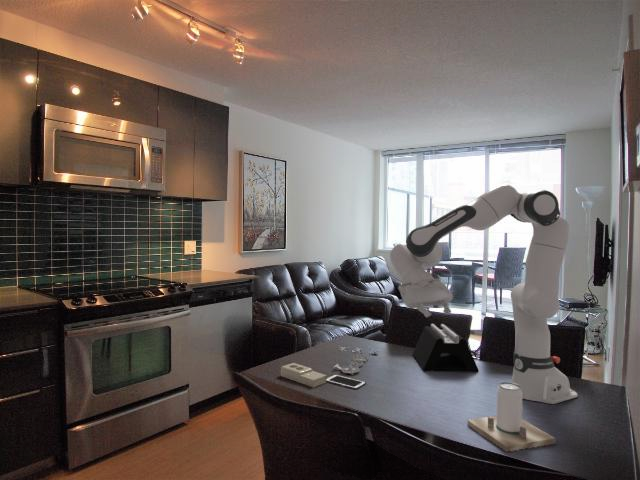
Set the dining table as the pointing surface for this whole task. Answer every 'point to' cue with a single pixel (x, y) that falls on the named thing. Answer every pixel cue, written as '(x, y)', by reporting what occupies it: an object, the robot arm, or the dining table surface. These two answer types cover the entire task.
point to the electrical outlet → (303, 375)
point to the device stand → (443, 351)
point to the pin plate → (511, 434)
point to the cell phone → (346, 382)
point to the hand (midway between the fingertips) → (439, 314)
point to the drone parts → (354, 364)
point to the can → (509, 407)
